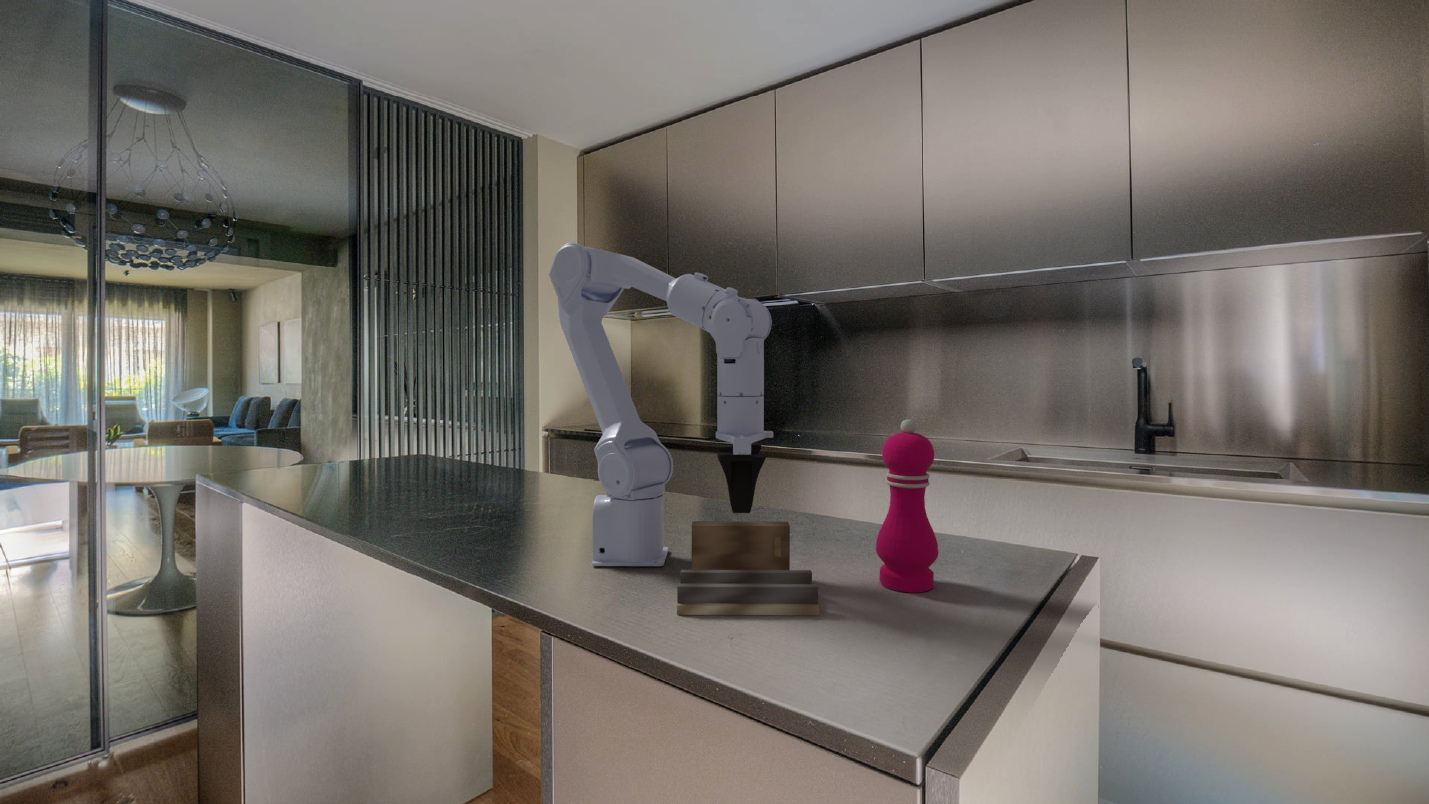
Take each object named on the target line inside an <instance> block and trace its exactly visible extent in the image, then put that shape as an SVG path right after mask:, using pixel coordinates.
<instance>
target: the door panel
mask: <svg viewBox="0 0 1429 804" xmlns="http://www.w3.org/2000/svg"><path fill="white" fill-rule="evenodd" d="M790 532H791V525H790V523H789V521H761V520H760V521H750V520H748V521H746V520H745V521H744V520H743V521H739V520H738V521H737V520H736V521H734V520H733V521H729V520H727V521H725V520H724V521H722V520H721V521H718V520H715V521H714V520H712V521H710V520H707V521H705V520H702V521H701V520H698V521H697V520H695V521H694V520H693V521H692V523H691V570H791V569H790V564H791V562H790V561H791V559H790V558H791V557H790V556H791V555H790V553H791V551H790V550H791V548H790V547H791V546H790V545H791V542H790V541H791V540H790V539H791V536H790V535H791V533H790Z"/></svg>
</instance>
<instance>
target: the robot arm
mask: <svg viewBox="0 0 1429 804" xmlns="http://www.w3.org/2000/svg"><path fill="white" fill-rule="evenodd" d="M548 275H549V279H550V281H551V283H552V286H553V290H554V292H555V295H556V296H557V297H556V298H557V304H558V318H559V323H560V326H561V329H562V332H563V335H564V337H565V340H566V342H567V344H568V347H569V350H570V352H571V355H572V358H573V360H574V363H575V365H576V368H577V371H578V374H579V376H580V378H581V382H582V383H583V385H584V389H585V391H586V395H587V396H588V399H589V403H590V405H591V407H592V410H593V412H594V416H595V418H596V420H597V422H598V425H599V429H600V430H601V433H602V435H601V436H600V439H599V440H598V442H597V444H596V446H595V447H594V449H593V452H594V455H595V457H596V462H597V476H598V477H597V478H598V480H599V483H600V485H601V487H602V488H603V490H604V491H605V492H606V494H599V495H596V496H595V498H594V502H593V507H592V519H591V521H592V562H591V566H593V567H663V566H664V564H665V562H666V559H667V556H668V552H669V547H668V546H664V492H665V491H666V484H667V483H668V482H669V481H670V479H671V478H672V475H673V473H674V460H673V456H672V454H671V452H670V451H669V450H668V447H665V445H664V444H662V442H661V441H660V439H659V437H658V435H657V432H656V431H655V430H654V429H652V428H651V427H650V426H649V425H647V424H646V423H645V422H643V421H642V420H641V418H640V416H639V413H638V411H637V408H636V406H635V404H634V401H633V398H632V396H631V394H630V390H629V388H628V386H627V384H626V381H625V378H624V376H623V374H622V371H621V368H620V366H619V363H618V360H617V358H616V356H615V353H614V351H613V348H612V345H611V343H610V340H609V338H608V336H607V334H606V330H605V329H604V326H603V323H602V321H603V318H604V317H605V316H607V315H608V313H609V311H610V310H611V309H612V308H613V306H614V305H615V303H616V301H617V300H618V298H619V297H620V296H621V294H622V292H623V291H624V290H625V289H631V288H633V289H636V290H638V291H641V292H643V293H645V294H648V295H651V296H653V297H655V298H657V299H660V300H662V301H665V302H666V304H667V309H668V311H669V313H670V314H671V315H672V316H674V317H676V318H678V319H680V320H682V321H684V322H686V323H689V324H690V325H693V326H695V327H697V328H699V329H701V330H703V331H704V332H705V331H706V333H709V334H710V336H711V337H712V338H713V340H714V342H715V353H716V354H717V357H716V359H717V360H716V362H717V363H716V365H717V367H716V368H717V369H716V371H717V372H716V373H717V377H716V378H717V379H716V380H717V383H716V384H717V387H716V388H717V392H716V393H717V394H716V395H717V397H716V398H717V399H716V400H717V402H716V403H717V404H716V405H717V406H716V407H717V408H716V409H717V412H716V413H717V417H716V418H717V419H716V420H717V427H716V428H717V431H715V439H717V440H720V441H724V442H727V443H730V444H719V445H718V447H717V448H718V451H719V452H717V454H716V455H717V460H718V462H719V464H720V466H721V468H722V470H723V473H724V477H725V479H726V485H727V491H728V497H729V503H730V508H731V512H732V513H733V514H750V513H751V512H752V511H751V510H752V507H753V503H754V497H755V493H756V492H755V490H756V485H757V481H758V477H759V474H760V472H761V469H762V467H763V465H764V463H765V461H766V459H767V456H766V454H760V451H761V450H762V443H760V442H759V443H758V441H761V440H764V439H769V438H771V439H772V438H774V432H773V430H764V429H765V427H764V426H765V425H764V424H765V421H764V420H765V418H764V417H765V414H764V413H765V410H764V409H765V406H764V405H765V403H764V401H765V397H764V396H765V395H764V394H765V358H764V357H765V356H764V355H765V349H764V348H765V345H764V342H765V340H766V339H767V337H768V336H769V335H770V332H771V329H772V323H773V322H772V321H773V320H772V316H771V313H770V311H769V309H768V308H767V307H766V305H765V304H763V303H761V302H760V301H759V300H758V299H757V298H744V297H740V296H738V293H739V292H738V290H737V289H735V288H734V287H730V286H728V287H726V289H725V288H723V287H721V286H719V285H716V284H714V283H713V282H709V281H708V280H709V276H708V275H706V274H704V273H700V272H694V275H693V274H692V273H685V274H682V275H680V276H679V277H677V278H675V277H674V276H673V275H670V274H668V273H666V272H664V271H661V270H659V269H658V268H656V267H654V266H651V265H649V264H647V263H645V262H643V261H641V260H639V259H637V258H635V257H633V256H629V255H625V254H620V253H616V252H612V251H608V250H604V249H600V248H596V247H590V246H585V245H584V246H583V245H581V244H580V243H577V242H567V243H565V244H563V245H562V246H560V248H559V249H558V250H557V252H556V253H555V256H554V258H553V261H552V264H551V267H550V270H549V273H548Z"/></svg>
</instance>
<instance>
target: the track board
mask: <svg viewBox="0 0 1429 804" xmlns="http://www.w3.org/2000/svg"><path fill="white" fill-rule="evenodd" d="M679 575H680V578H679V579H680V581H679V582H680V583H677V586H676V587H677V588H676V590H677V591H676V593H677V597H676V598H677V599H676V601H677V604H676V615H678V616H679V615H681V616H682V615H683V616H684V615H685V616H686V615H687V616H691V615H692V616H696V615H697V616H700V615H701V616H820V605H819V585H818V584H817V583H813V572H812V570H810V569H809V570H808V569H795V570H794V569H790V570H692V569H681V570H680V574H679Z"/></svg>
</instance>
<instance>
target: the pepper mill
mask: <svg viewBox="0 0 1429 804" xmlns="http://www.w3.org/2000/svg"><path fill="white" fill-rule="evenodd" d="M916 429H917V424H916V423H915V421H914V420H912V419H910V418H909V419H904V420H902V422H901V424H900V430H901V432H898V433H895V434H892V435H891V436H889V437H888V438H887V439H886V440H885V441H884V442H883V443H884V444H883V446H882V450H881V457H882V461H883V463H884V464H885V466H886V467H887V469H888V471H887V472H886V473H885V476H886V480H885V483H886V484H887V486H889V493H890V499H889V507H888V511H887V513H886V516H885V518H884V521H883V522H882V524H881V527H880V529H879V531H878V534H877V537H876V544H875V551H876V554H877V556H878V557H879V559H880V560H881V562H882V563H883V565H881V566H880V567H879V583H880V584H881V585H882V587H884V586H885V588H887V589H889V590H891V589H892V590H891V591H895V590H896V592H900V591H901V592H900V593H902V592H903V593H908V594H909V593H911V594H912V593H914V594H915V593H919V594H920V593H925V592H929V591H930V590H933V588H934V582H935V581H934V580H935V579H934V577H935V573H934V571H933V570H932V569H931V568H930V567H931V566H932V565H933V564H934V563H935V562H936V561H937V559H938V557H939V544H938V540H937V537H936V534H935V531H934V529H933V527H932V524H931V523H930V520H929V518H928V513H927V511H926V504H925V503H926V502H925V501H926V499H925V496H926V490H927V489H926V488H927V487H929V486H930V482H929V479H930V476H931V475H930V474H929V473H927V471H928V469H929V468H930V467H931V466H933V463H934V460H935V450H934V449H935V448H934V446H933V444H932V443H931V441H930V439H929V438H927V437H926V436H925V435H924V434H923V435H922V434H920V433H916V432H915V431H916Z"/></svg>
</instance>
